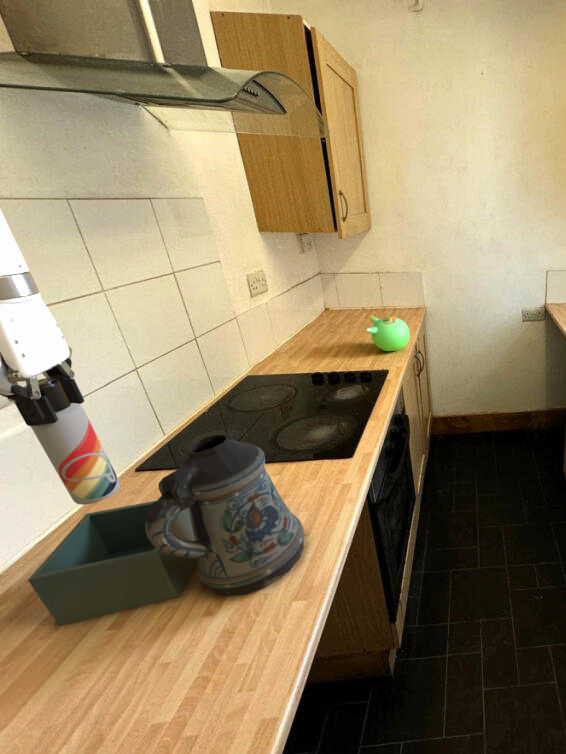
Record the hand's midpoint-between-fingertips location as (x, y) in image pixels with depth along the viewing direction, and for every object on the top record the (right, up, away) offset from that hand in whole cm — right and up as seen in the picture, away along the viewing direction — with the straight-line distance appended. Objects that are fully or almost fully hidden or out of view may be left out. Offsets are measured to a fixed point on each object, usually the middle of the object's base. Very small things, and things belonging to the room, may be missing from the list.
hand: (57, 412), depth 61 cm
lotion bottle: (0, -14, +6) cm, 15 cm away
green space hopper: (+14, +19, +120) cm, 122 cm away
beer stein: (+21, -28, +13) cm, 37 cm away
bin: (+2, -29, +11) cm, 31 cm away
